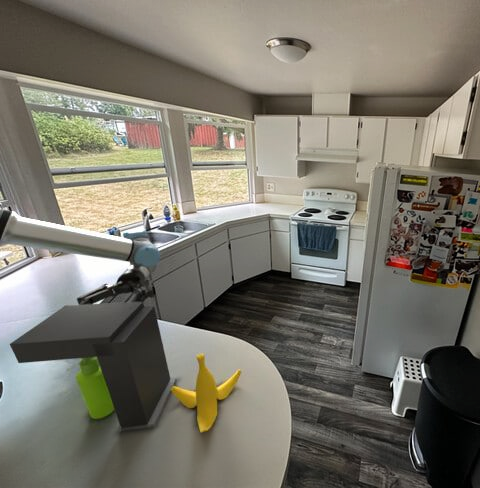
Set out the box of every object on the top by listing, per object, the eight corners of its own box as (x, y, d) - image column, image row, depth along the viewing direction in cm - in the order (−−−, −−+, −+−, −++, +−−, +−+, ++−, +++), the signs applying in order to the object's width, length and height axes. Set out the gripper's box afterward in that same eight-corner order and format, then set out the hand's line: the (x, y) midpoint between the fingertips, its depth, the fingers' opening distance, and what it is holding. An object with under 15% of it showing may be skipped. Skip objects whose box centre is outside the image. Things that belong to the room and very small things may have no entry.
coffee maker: (54, 439, 60) (9, 344, 51) (95, 388, 73) (65, 305, 64) (154, 427, 64) (129, 335, 54) (176, 380, 77) (159, 300, 67)
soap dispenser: (91, 403, 69) (69, 344, 62) (121, 395, 71) (103, 338, 65) (80, 423, 64) (55, 362, 57) (113, 414, 66) (93, 355, 59)
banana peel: (173, 394, 72) (162, 348, 67) (242, 376, 79) (237, 333, 73) (161, 455, 58) (146, 402, 52) (246, 427, 64) (241, 377, 59)
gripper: (173, 283, 97) (156, 315, 78) (95, 291, 89) (55, 329, 70) (170, 265, 94) (151, 294, 75) (89, 272, 87) (46, 306, 68)
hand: (104, 311), depth 73 cm, fingers open, 13 cm apart
